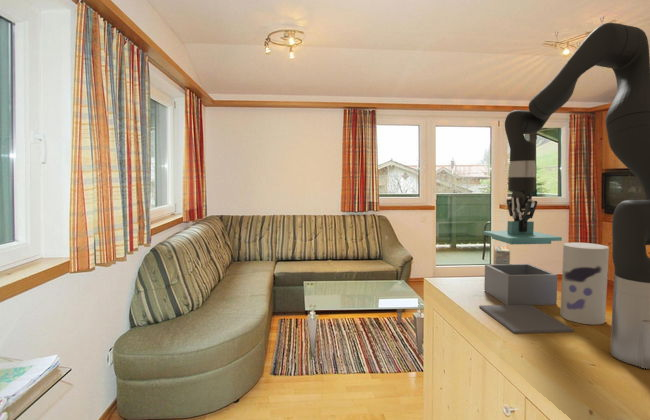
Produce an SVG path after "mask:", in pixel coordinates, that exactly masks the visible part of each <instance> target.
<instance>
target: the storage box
mask: <svg viewBox="0 0 650 420" xmlns="http://www.w3.org/2000/svg"><path fill="white" fill-rule="evenodd" d="M558 278H559V277H558V274H557V273H554V272H552V271H548V270H546V269H543V268H540V267H538V266H536V265H532V264H530V263H510V264H495V265H493V264H484V287H483V288H484V289H483V290H485V291H486V292H485V291H484V292H485V293H487V292H488V293H489V294H488V293H487V294H488V295H490V296H491V295H492V296H491V297H493V298H495V299H496V300H497V301H499V302H501V303H502V304H503V305H521V304H530V305H531V306H538V305H539V306H541V305H542V306H544V305H545V306H547V305H557V299H558V297H557V295H558Z"/></svg>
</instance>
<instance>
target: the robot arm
mask: <svg viewBox="0 0 650 420" xmlns="http://www.w3.org/2000/svg"><path fill="white" fill-rule="evenodd" d="M595 66H596V67H600V68H601V67H602V68H607V69H608V68H609V69H611V70H613V72H614V75H615V80H616V86H617V90H616V91H617V92H616V95H615V97H614V99H613V100H612V102H611V104H610V106H609V108H608V110H607V113H606V116H605V128H606V134H607V140H608V145H609V148H610V149H611V151H612V153H613V154H614V155H615V156H616V158H617V159H618V160H619V161H620V162H621V163H622V164H623V165H624V166H625V167H626V169H628V170H629V171H630V172H631V173H632V174H633V175H634V176H635V178H636V179H637V180H638V182H639V183H640V185H641V187H642V189H643V192H644V195H645V198H646V199H627V200H623V201H621V202H619V203H618V204H617V205H616V207H615V208H614V211H613V215H612V221H611V222H612V223H611V225H612V228H611V229H612V230H611V234H612V235H611V237H612V243H611V244H612V252H611V253H612V254H611V255H612V262H613V266H614V273H613V274H614V276H613V278H614V279H613V292H612V293H613V295H612V313H611V329H610V351H609V353H610V354H611V356H612V357H614V358H616V359H617V360H618V361H621V362H624V363H625V364H629V365H633V366H636V367H638V366H639V368H640V367H641V368H640V369H642V368H644V370H645V368H646V369H648V370H649V369H650V257H649V256H648V254H647V246H650V46H649V39H648V36H647V34H646V32H645V31H644V30H643V29H641V28H640V27H637V26H633V25H627V24H622V23H616V22H606V23H602V24H600V25H598V26H597V27H596V28H595V29H594V30H593V31H592V32H590V34H588V36H587V37H586V38H585V39H584V40H583V41H582V43H581V44H580V45H579V46H578V47H577V49H576V50H575V51H574V53H573V54H572V55H571V56H570V57H569V59H568V60H567V61H566V63H564V65H563V67H562V68H561V69H560V70H559V71H558V73H557V74H556V76H554V77H553V79H551V80H550V82H548V84H547V85H546V86H545V87H543V88H542V89H541V90H540V91H539V92H537V94H536V95H535V96H534V97H532V98H531V100H530V101H529V104H528V110H524V109H523V110H522V109H521V110H519V109H517V110H512V111H510V112H509V113H508V114H507V115H506V116H505V117H506V118H505V121H504V129H505V134H506V138H507V143H508V146H509V149H510V150H509V166H508V177H507V178H508V179H507V180H508V181H507V182H508V184H507V185H508V186H507V190H508V191H509V192H512V193H511V196H510V197H511V198H509V199H508V198H507V199H506V204H507V206H506V207H507V210H508V213H509V216H510V217H512V219H513V221H519V232H527V221H530V219H533V218H534V217H533V216H534V214H535V211H536V208H537V205H538V201H537V200H533V197H532V196H533V195H532V192H535V190H536V177H537V175H536V174H537V172H536V171H537V167H536V151H537V150H536V144H535V143H534V142H532V141H529V140H527V139H526V137H525V135H533V134H536V133H537V132H539V131H541V130H542V129H543V127H544V126H545V125H546V123H547V122H548V120H549V119H550V118H551V116H552V115H553V114H554V113H556V112H557V111H558V110H559V109H561V108H562V107H563V106H564V105H566V103H567V102H568V101H569V100H570V99H571V97H572V96H573V94H574V92H575V88H576V85H577V83H578V80H579V78H580V77H581V76H582V75H583V74H585V73H586V72H588V70H590V69H592V68H594V67H595Z"/></svg>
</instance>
